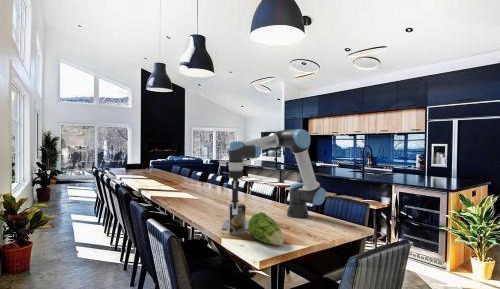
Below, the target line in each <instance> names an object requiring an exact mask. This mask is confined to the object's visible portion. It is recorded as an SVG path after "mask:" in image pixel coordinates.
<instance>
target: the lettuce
mask: <svg viewBox="0 0 500 289" xmlns="http://www.w3.org/2000/svg"><path fill="white" fill-rule="evenodd" d="M248 221H249V223H248V230H249V231H248V232H249V234H250V235H251V236H252V237H253V238H254V239H256V240H258V241H259V242H262V243H265V244H269V245H275V246H281V245H283V243H284V242H285V239H284V236H283V233H282V230H281V227H279V225H278V224H277V222H276V221H275V220H274V219H273V218H272V217H270V216H269V215H267V213H265V212H257V213H254V214H253V215H252V216H250V218H249V220H248Z"/></svg>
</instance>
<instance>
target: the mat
mask: <svg viewBox="0 0 500 289" xmlns="http://www.w3.org/2000/svg"><path fill="white" fill-rule="evenodd" d="M248 223H249V220H245V232H247V231H248V232H249V230H248ZM221 231H228V219H227V220H226V219H225V221H224V222H223V225H222V227H221Z"/></svg>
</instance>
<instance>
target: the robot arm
mask: <svg viewBox="0 0 500 289" xmlns="http://www.w3.org/2000/svg"><path fill="white" fill-rule="evenodd" d="M311 140H312V139H311V136H310V133H309V132H308V131H307V130H305V129H300V128H296V129H292V128H291V129H283V130H279V131H276V132H273V133H270V134H269V135H267V136H262V137H259V138H254V139H251V140H248V141H241V140H239V141H238V140H237V141H236V140H234V141H233V140H231V141H229V144H228V146H227V147H226V155H227V156H228V163H227V166H228V178H229V179H232V180H231V192H232V193H231V194H232V195H231V198H232V200H231V201H230V204H232V215H237V214H238V204H239V202H240V200H239V188H240V180H239V179H242V178H243V177H244V176H243V175H244V174H243V173H244V172H243V170H244V160H247V159H250V160H251V159H254V160H255V159H258V158H260V156H261V154H262V151H263V150H267V149H270V148H273V149H276V148H289V150H290V152H291V153H292V154H294V157H295V160H296V163H297V164H296V165H297V167H298V170H299V173H300V177H301V180H302V182H297V183H296V182H294V183H291V184H290V185H289V205H288V208H287V210H286V216H287V217H289V218H295V219H296V218H297V219H304V218H308V217H309V211H308V206H307V204H310V205H316V206H320V205H322V204H323V203H324V201H325V200H326V197H327V196H326V192H327V191H326V190H325V188H323V187H321V185H320V182H318V180H316V175H315V172H314V168H313V165H312V161H311V158H310V154H309V148H310V146H311Z"/></svg>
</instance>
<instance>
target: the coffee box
mask: <svg viewBox="0 0 500 289" xmlns="http://www.w3.org/2000/svg"><path fill="white" fill-rule="evenodd" d="M227 206H228V207H227V220H228V230H227V233H228V234H229V235H233V236H234V235H245V234H246V231H245V221H246V209H247V206H246V205H245V204H244V203H238V214H237V215H232V203H229V204H227ZM229 235H228V236H229Z"/></svg>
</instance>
